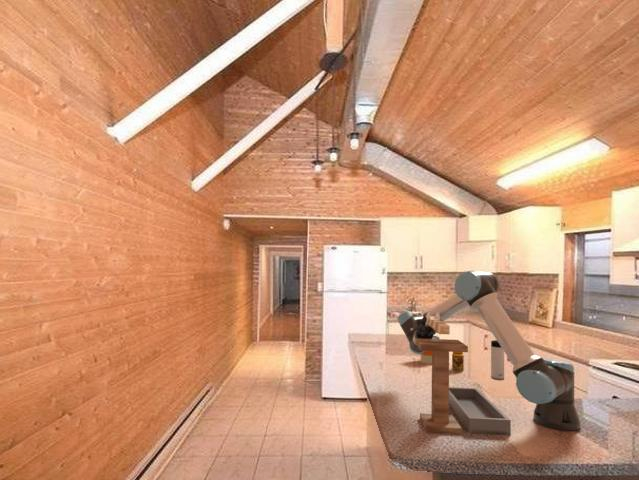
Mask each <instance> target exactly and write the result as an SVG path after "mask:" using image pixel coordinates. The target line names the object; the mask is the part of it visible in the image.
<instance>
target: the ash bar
mask: <svg viewBox="0 0 639 480" xmlns="http://www.w3.org/2000/svg"><path fill="white" fill-rule="evenodd" d="M425 317H426V316H425ZM427 325H429V326H430V327H432V328H433V329H434V330H436V331H437V332H439V333H440V334H439V333H438V334H439V335H450V334H451V332H450V331H451V329H450V325H449V324H447V323H446V322H444V321H443V322H442V321H441V320H439V319H437V318H435V317H434V316H430V320H429V322H428V324H427Z"/></svg>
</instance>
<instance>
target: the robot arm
mask: <svg viewBox="0 0 639 480" xmlns="http://www.w3.org/2000/svg"><path fill="white" fill-rule="evenodd" d="M453 287H454V292H455V295H453V296H451V297H450V298H447V299H446V300H445V301H443V302H441V303H440V304H437V305H436V306H435V307H433V308H431V309H429V310H428V311H427V312H425V313H423V314H420V315H414V314H413V313H412V311H410V310H409V311H408V310H406V311H404V312H401V313H400V314H399V315H398V316H397V319H396V320H397V321H398V323H399V326H400V327H401V329H402V331H403V333H404V335H405V337H406V338H407V340H408V342H409V348H410V351H411V352H412V353H413V354H415V355H420V354H422V353H423V352H424V351H421V350H420V348H419V347H418V346H417V345H416V344H415V338H419V339H432V338H433V336H436V334H439V335H441V334H440V333H439V332H437V331H436V330H434V329H433V328H432V327H430V326H429V325H427V324H428V322H429V320H430V316H434V317H435V318H437V319H439V320H441V321H442V322H444V321H446V320H448V319H450V318H451V317H453V316H456V315H457V314H458V313H460V312H463V311H465V310H466V309H468V308H469V307H470V308H471V309H472V310H476V311H477V312H478V314H479V315H480V316H481V318H482V320H483V322H484V323H485V325H486V326H487V327H488V329H489V330H490V332H491V334H492V335H493V337H494V338H495V340H497V341H498V343H499V344H500V346H501V347H502V349H503V350H504V354H505V355H506V357H507V358H508V359H509V361H510V362H511V364H512V365H513V366H512V373H513V375H514V376H515V378H516V379H515V381H516V382H515V387H516V389H517V391H518V393H519V394H520V395H521V396H522V398H524V399H525V400H526V401H527V402H529V403H532V404H536V405H535V407H534V411H533V420H534V421H535V422H536V423H538V424H540V425H541V426H545V427H547V428H550V429H553V430H559V431H566V432H567V431H571V432H572V431H578V430H581V419H580V416H579V413H578V411H577V408H576V405H575V374H576V373H575V369H574V365H573V364H572V363H570V362H567V361H562V360H558V359H552V358H543V357H542V356H539V355H536V354H535V353H534V352H533V350H532V348H531V347H530V345H528V342H527V341H526V339H524V337H523V335H522V334H521V333H520V332H519V329H518V328H517V327H516V325H515V324H514V322H513V321H512V320H511V318H510V317H509V315H508V314H507V312H506V311H505V309H504V308H503V307H502V305H501V304H500V302H499V301H498V292H499V289H500V281H499V279H498V277H497V276H496V275H495V274H494V273H492V272H490V271H488V270H487V271H485V270H475V271H474V270H467V271H463V272H460V274H458V275H457V277H455V281H454V286H453ZM425 316H426V317H425Z"/></svg>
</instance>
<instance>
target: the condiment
mask: <svg viewBox="0 0 639 480" xmlns="http://www.w3.org/2000/svg"><path fill="white" fill-rule="evenodd" d="M463 353H464V352H452V354H451V358H452V359H451V367H449V371H451V372H453V373H466V372H467V370H465V367H464V365H465V364H464V363H465V362H464V361H465V360H464V358H465V357H464V356H465V355H464V354H463Z"/></svg>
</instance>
